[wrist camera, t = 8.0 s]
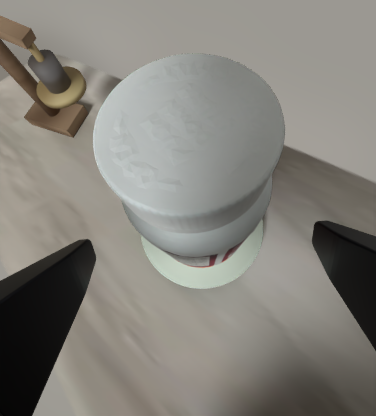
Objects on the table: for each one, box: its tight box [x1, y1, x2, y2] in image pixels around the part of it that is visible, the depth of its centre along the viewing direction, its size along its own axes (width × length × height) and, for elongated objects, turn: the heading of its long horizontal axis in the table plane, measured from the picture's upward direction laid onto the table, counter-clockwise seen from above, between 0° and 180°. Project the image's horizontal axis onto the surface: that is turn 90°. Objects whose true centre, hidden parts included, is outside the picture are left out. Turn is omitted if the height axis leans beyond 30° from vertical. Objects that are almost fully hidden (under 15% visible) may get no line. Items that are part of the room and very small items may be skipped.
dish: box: [141, 219, 263, 289], centre depth 17 cm, size 9×9×1 cm
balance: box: [0, 16, 88, 137], centre depth 18 cm, size 11×4×10 cm, turn 69°
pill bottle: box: [93, 53, 285, 268], centre depth 11 cm, size 6×6×11 cm
